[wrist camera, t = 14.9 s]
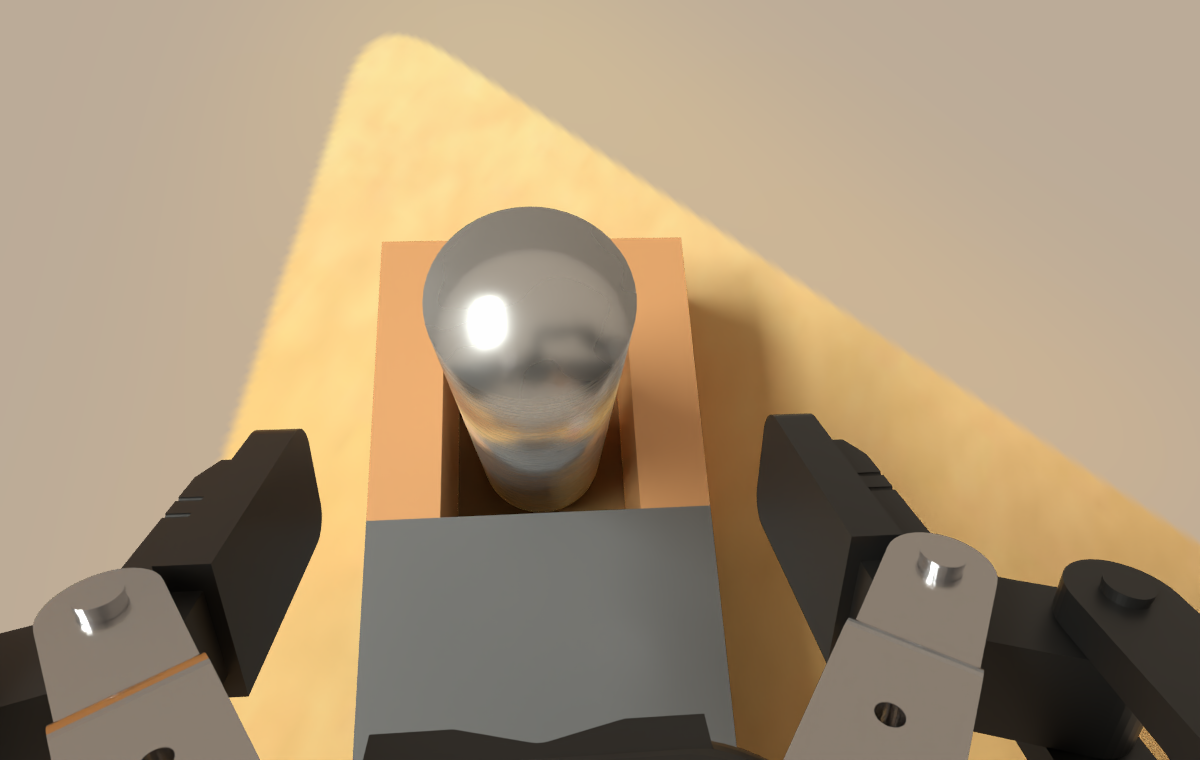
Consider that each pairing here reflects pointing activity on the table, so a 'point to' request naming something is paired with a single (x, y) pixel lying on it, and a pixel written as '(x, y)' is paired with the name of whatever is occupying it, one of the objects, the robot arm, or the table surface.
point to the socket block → (538, 548)
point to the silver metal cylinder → (532, 346)
